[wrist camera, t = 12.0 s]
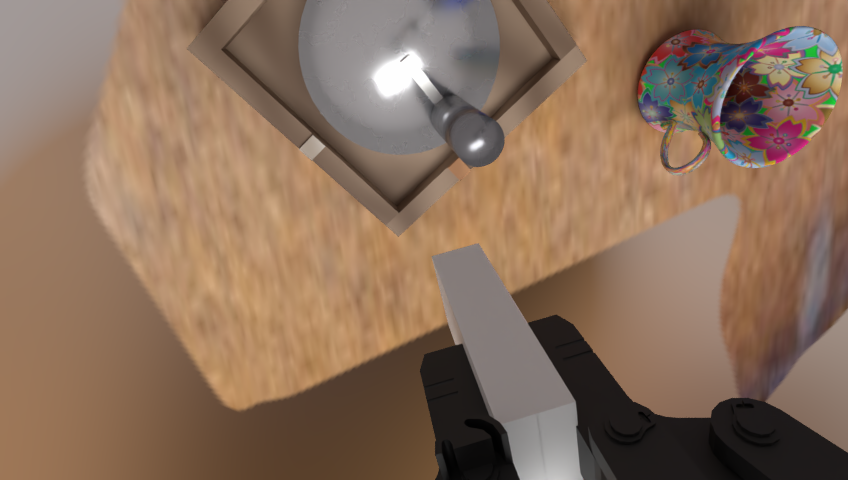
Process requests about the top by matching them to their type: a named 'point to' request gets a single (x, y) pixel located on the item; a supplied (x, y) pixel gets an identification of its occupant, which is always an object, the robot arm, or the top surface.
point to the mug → (742, 93)
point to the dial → (405, 73)
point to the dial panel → (347, 161)
